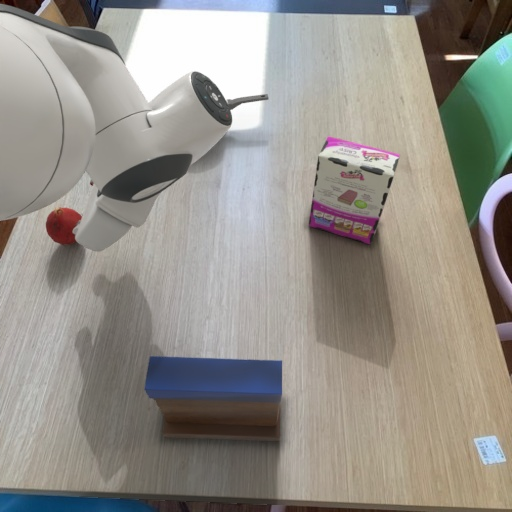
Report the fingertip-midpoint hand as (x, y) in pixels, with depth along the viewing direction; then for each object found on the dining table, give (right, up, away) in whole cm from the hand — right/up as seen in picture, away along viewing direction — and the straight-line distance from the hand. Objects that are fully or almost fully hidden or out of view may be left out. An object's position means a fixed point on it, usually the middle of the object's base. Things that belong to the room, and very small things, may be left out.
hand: (86, 206), depth 72 cm
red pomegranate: (-5, -5, +8) cm, 11 cm away
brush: (+21, -29, -9) cm, 37 cm away
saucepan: (+18, +19, +24) cm, 36 cm away
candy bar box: (+40, -2, +10) cm, 42 cm away
